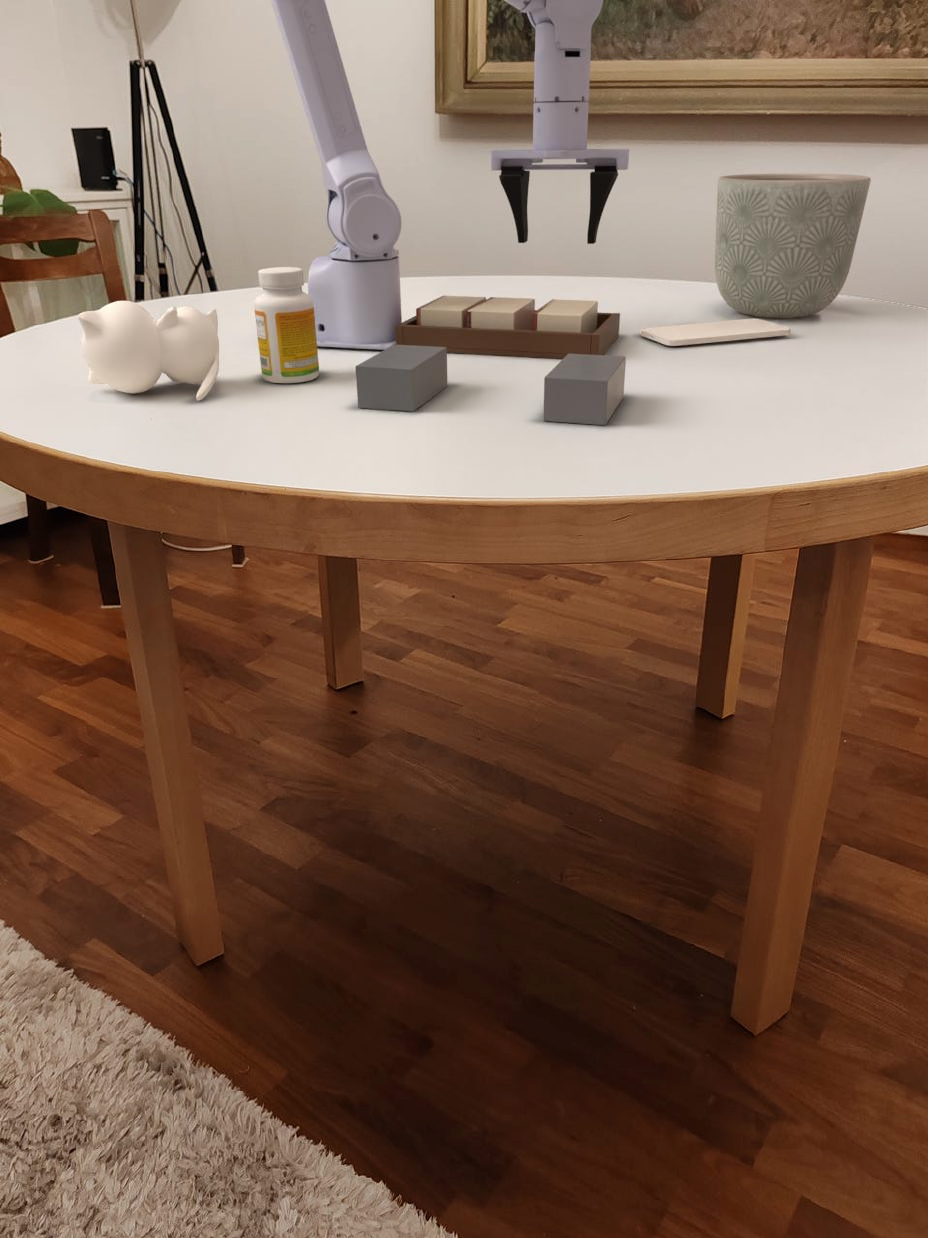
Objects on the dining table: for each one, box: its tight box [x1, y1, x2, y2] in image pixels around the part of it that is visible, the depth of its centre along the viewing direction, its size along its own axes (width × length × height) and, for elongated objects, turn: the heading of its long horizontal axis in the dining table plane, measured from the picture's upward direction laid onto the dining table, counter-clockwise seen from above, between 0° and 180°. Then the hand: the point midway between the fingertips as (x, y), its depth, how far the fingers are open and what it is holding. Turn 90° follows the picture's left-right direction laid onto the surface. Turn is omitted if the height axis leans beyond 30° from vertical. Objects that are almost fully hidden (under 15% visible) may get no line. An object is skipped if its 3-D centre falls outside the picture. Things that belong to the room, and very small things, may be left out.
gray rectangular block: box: [355, 345, 448, 413], centre depth 82 cm, size 5×9×4 cm, turn 163°
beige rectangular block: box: [532, 298, 599, 333], centre depth 100 cm, size 5×9×4 cm, turn 163°
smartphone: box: [640, 318, 791, 347], centre depth 104 cm, size 7×1×15 cm
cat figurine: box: [77, 300, 220, 401], centre depth 84 cm, size 9×11×12 cm
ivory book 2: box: [467, 296, 536, 331], centre depth 102 cm, size 5×9×4 cm, turn 162°
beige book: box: [415, 295, 487, 328], centre depth 104 cm, size 5×9×4 cm, turn 163°
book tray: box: [396, 309, 621, 360], centre depth 102 cm, size 22×13×2 cm, turn 73°
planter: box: [714, 173, 872, 319], centre depth 114 cm, size 17×17×15 cm
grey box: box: [542, 354, 627, 426], centre depth 78 cm, size 5×9×4 cm, turn 163°
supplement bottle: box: [253, 266, 320, 384], centre depth 88 cm, size 5×5×10 cm
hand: (556, 242), depth 105 cm, fingers open, 7 cm apart
